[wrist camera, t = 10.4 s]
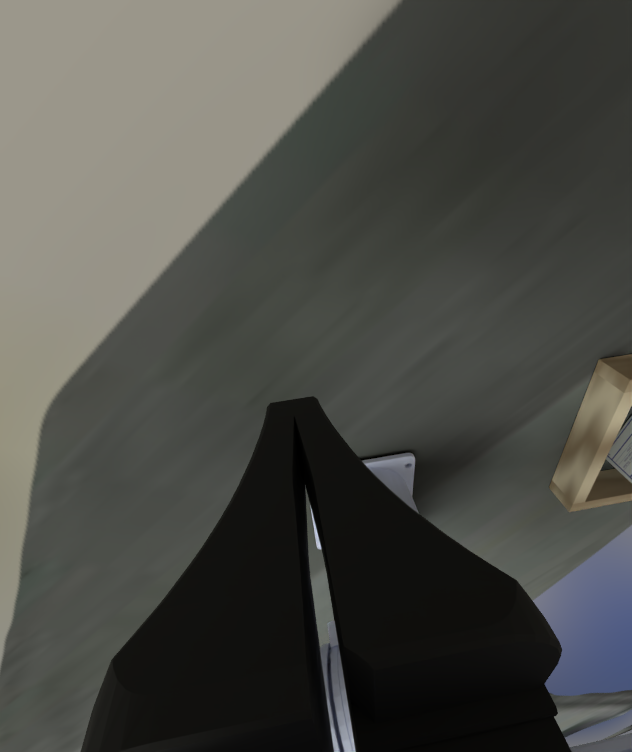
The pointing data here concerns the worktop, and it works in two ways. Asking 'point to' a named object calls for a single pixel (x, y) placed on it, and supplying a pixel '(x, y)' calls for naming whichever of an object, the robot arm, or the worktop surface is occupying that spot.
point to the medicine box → (622, 451)
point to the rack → (596, 440)
